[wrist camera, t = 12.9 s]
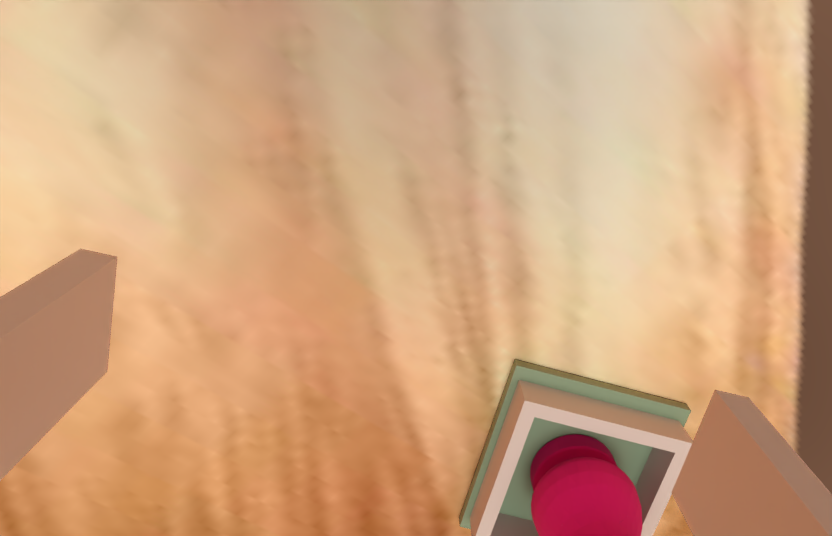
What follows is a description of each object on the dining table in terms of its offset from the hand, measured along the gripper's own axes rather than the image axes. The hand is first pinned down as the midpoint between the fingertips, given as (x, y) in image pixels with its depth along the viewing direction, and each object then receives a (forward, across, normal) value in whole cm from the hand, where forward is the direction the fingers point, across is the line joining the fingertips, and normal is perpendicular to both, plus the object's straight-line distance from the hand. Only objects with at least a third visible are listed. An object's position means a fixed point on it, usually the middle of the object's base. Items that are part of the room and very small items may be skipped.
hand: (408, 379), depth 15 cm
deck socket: (+31, +16, -20) cm, 40 cm away
